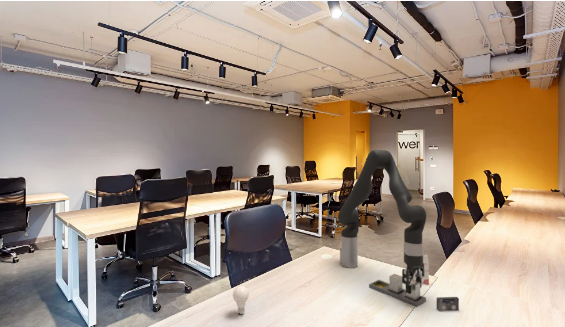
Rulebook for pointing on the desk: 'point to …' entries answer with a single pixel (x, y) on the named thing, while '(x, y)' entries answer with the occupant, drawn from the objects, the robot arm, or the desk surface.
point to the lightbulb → (241, 298)
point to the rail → (385, 289)
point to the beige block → (396, 284)
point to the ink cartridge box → (425, 271)
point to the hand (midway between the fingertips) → (413, 290)
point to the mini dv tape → (447, 303)
